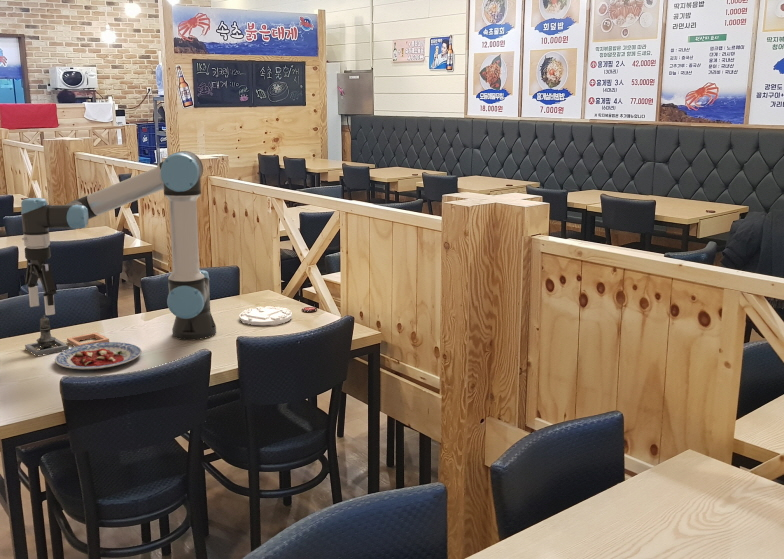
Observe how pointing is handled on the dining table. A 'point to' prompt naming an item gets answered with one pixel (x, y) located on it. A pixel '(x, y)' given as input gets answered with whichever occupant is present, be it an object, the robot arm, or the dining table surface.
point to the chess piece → (45, 334)
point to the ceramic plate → (98, 355)
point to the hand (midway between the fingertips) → (42, 310)
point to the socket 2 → (93, 335)
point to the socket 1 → (50, 350)
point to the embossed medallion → (266, 316)
